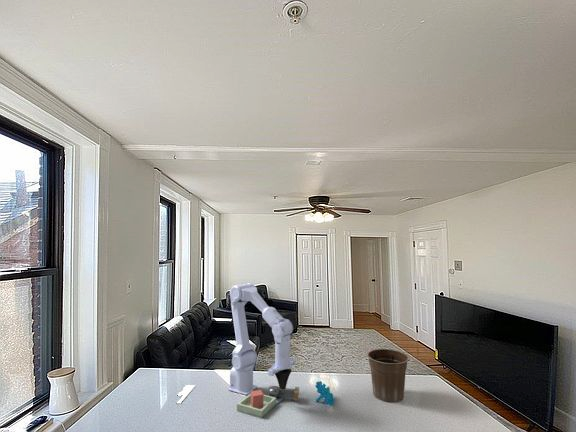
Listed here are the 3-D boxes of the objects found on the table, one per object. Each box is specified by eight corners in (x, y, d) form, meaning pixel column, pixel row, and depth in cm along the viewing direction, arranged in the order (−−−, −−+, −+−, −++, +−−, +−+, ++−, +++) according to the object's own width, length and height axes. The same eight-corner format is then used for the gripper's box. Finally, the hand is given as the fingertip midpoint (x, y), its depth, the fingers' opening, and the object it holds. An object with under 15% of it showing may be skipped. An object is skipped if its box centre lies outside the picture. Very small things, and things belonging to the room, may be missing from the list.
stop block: (252, 409, 126) (253, 396, 126) (250, 404, 130) (250, 391, 130) (263, 408, 127) (263, 394, 127) (260, 402, 131) (260, 389, 131)
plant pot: (385, 409, 128) (385, 365, 128) (359, 390, 142) (359, 351, 143) (417, 400, 134) (417, 359, 135) (390, 383, 149) (389, 346, 150)
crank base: (263, 400, 134) (263, 398, 134) (275, 389, 143) (275, 388, 143) (277, 404, 131) (277, 402, 131) (288, 393, 140) (288, 391, 140)
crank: (267, 399, 133) (267, 391, 133) (269, 393, 138) (269, 385, 138) (297, 401, 132) (298, 393, 132) (299, 395, 137) (299, 387, 137)
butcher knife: (167, 404, 131) (167, 401, 131) (184, 387, 146) (184, 384, 146) (180, 405, 131) (180, 402, 131) (195, 387, 145) (195, 384, 146)
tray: (236, 410, 126) (236, 403, 126) (252, 398, 136) (252, 391, 136) (261, 418, 121) (261, 411, 121) (276, 404, 131) (276, 397, 131)
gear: (332, 407, 126) (314, 383, 130) (320, 417, 127) (304, 393, 131) (339, 398, 136) (323, 376, 140) (328, 407, 137) (313, 385, 141)
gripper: (278, 360, 122) (278, 399, 122) (301, 349, 134) (301, 384, 133) (264, 356, 127) (263, 393, 126) (287, 345, 138) (287, 379, 138)
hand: (282, 388), depth 130 cm, fingers closed
